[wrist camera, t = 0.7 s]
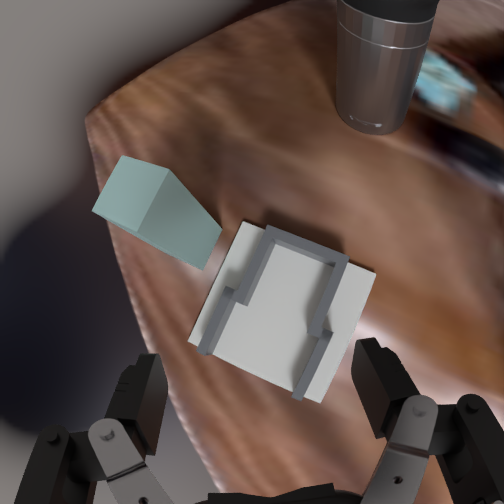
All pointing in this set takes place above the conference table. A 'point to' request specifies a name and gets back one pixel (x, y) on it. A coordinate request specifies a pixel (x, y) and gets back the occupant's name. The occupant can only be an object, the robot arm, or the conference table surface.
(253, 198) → the conference table surface
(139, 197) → the teal post
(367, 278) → the keyhole guide
